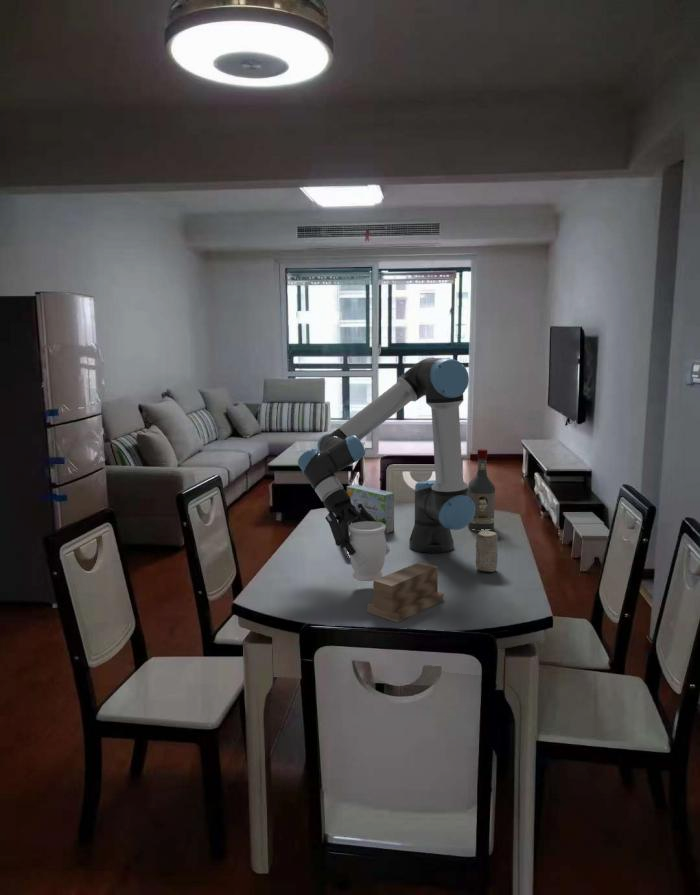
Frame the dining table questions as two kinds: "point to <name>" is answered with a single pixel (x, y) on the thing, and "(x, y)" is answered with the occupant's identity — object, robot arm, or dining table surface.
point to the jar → (368, 549)
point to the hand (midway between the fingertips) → (375, 558)
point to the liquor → (482, 495)
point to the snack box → (374, 504)
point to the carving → (486, 551)
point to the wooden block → (405, 592)
